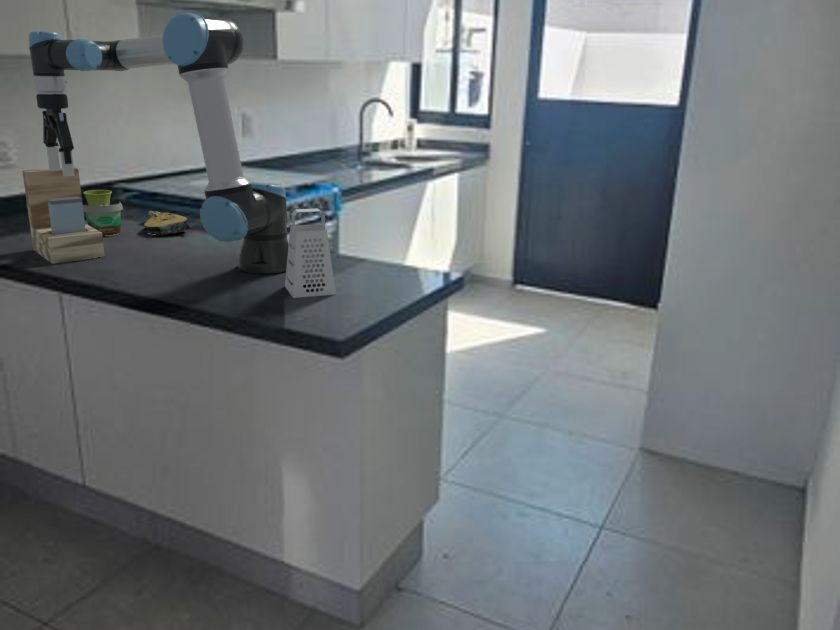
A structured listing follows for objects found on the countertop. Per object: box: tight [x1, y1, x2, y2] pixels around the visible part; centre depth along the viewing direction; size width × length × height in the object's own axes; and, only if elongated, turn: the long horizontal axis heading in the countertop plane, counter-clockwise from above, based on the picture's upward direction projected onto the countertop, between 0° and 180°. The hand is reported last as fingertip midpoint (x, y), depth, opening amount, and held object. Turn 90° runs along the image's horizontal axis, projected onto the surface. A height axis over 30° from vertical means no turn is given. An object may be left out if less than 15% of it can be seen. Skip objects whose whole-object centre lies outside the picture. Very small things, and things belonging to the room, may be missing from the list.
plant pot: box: [83, 189, 113, 206], centre depth 270 cm, size 9×9×9 cm
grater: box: [284, 207, 337, 299], centre depth 185 cm, size 10×10×20 cm
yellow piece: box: [143, 210, 193, 236], centre depth 253 cm, size 14×6×30 cm
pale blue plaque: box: [47, 197, 86, 235], centre depth 213 cm, size 4×8×12 cm, turn 129°
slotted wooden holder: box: [21, 166, 106, 265], centre depth 215 cm, size 20×14×23 cm
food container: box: [83, 201, 124, 236], centre depth 240 cm, size 12×6×10 cm, turn 131°
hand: (61, 173), depth 209 cm, fingers open, 13 cm apart
